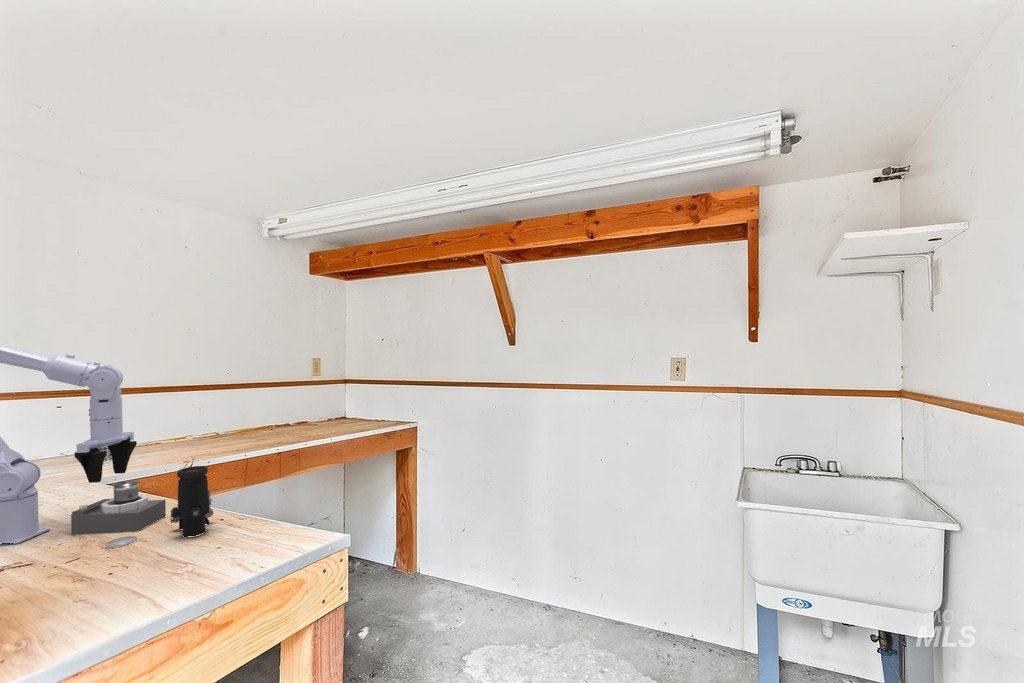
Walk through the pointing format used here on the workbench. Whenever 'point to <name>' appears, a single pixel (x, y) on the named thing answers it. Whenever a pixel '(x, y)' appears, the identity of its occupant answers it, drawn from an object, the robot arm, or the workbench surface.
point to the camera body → (116, 516)
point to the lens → (126, 492)
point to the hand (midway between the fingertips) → (107, 477)
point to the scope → (192, 501)
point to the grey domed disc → (121, 541)
